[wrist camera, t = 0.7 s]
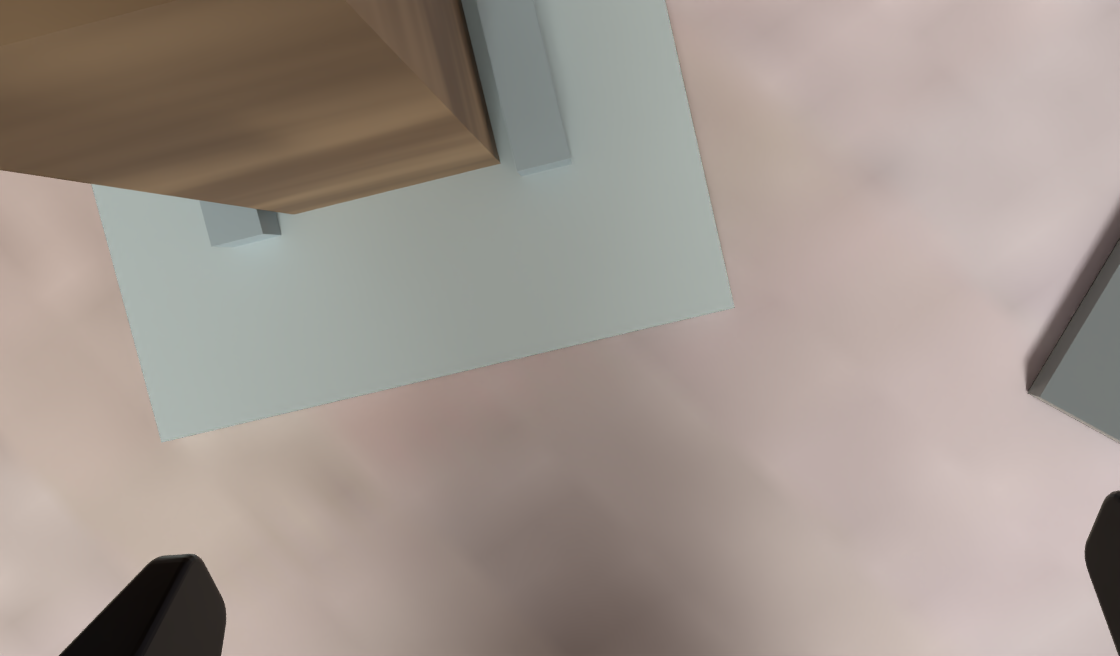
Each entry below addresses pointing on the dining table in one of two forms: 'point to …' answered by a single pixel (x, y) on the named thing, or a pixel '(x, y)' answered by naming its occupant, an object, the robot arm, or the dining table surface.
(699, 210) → the pocket board
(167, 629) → the robot arm
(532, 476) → the dining table surface
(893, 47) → the dining table surface
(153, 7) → the walnut block
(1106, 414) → the slate coaster
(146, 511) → the dining table surface
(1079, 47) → the dining table surface
